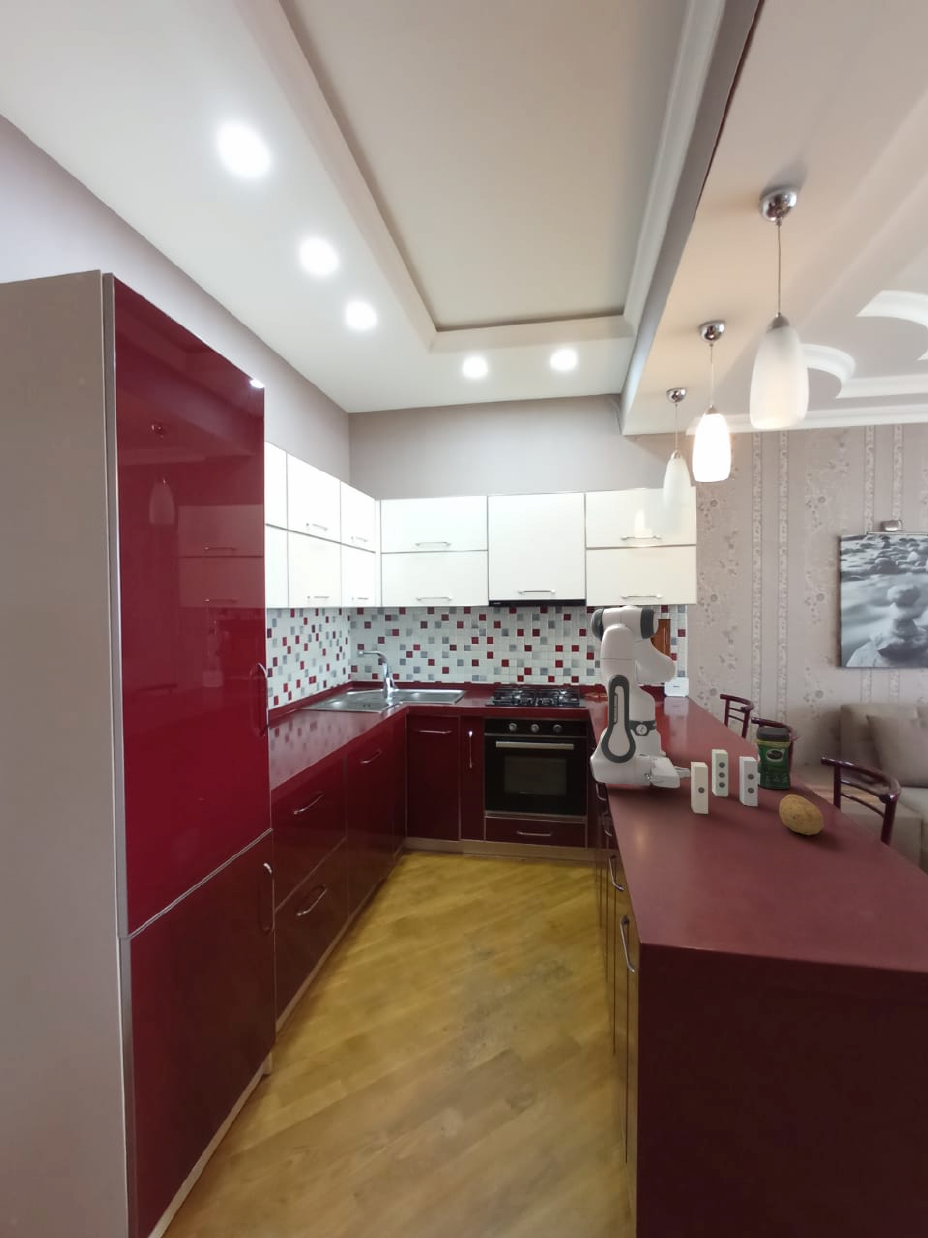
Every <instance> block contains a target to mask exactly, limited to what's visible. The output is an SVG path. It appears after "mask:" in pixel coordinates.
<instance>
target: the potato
mask: <svg viewBox="0 0 928 1238" xmlns="http://www.w3.org/2000/svg"><path fill="white" fill-rule="evenodd" d="M778 809H779V810H778V811H779V817H780V819H781V821H782V823H783V825H785V826H786V827H787V828H789V829H790V830H791V831H793V832H795V833H799V834H801V835H806V836H808V837H809V836H812V835H817V834H818V833H820V832H821V830H823V828H824V825H825V824H824V823H825V819H824V816H823V814H822V811H821V810H820V809H819V808H818V807H817V806H816V805H815V804H813V803H812V802H811V801H810V800H808V799H807V798H805V797H804V796H801V795H797V794H787V795H785V796H784V797H783V798H781V800H780V803H779V808H778Z"/></svg>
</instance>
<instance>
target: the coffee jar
mask: <svg viewBox="0 0 928 1238" xmlns="http://www.w3.org/2000/svg"><path fill="white" fill-rule="evenodd" d="M755 743H756V746H757V786H760V787H762V788H766V789H774V790H788V789H791V787H792V782H791V781H792V779H791V772H790V767H789V765H790V764H789V747H790V746H791V739H790V733H789V731H788V729H786V728H785V727H784V728H783V727H782V728H781V727H770V726H769V727H768V726H767V727H765V726H758V727H757V728H756V734H755Z"/></svg>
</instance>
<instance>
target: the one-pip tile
mask: <svg viewBox="0 0 928 1238" xmlns="http://www.w3.org/2000/svg"><path fill="white" fill-rule="evenodd" d="M690 764H691V766H690V767H691V769H690V772H691V779H690V781H691V782H690V789H691V790H690V791H691V794H690V795H691V798H690V801H691V803H690V807H691V809H692V811H693V813H694V814H705V815H706V814H708V815H709V767H708V765H707V764H706V763H705V762H704V761H703V762H697V761H691V762H690Z"/></svg>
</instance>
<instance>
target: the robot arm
mask: <svg viewBox="0 0 928 1238" xmlns="http://www.w3.org/2000/svg"><path fill="white" fill-rule="evenodd" d="M658 618H659V617H658V615H657V613H656V611H655V610H654V609H653V608H650V607H638V606H636V605H632V604H629V605H624V606H622V607H611V608H605V607H604V608H599V609H597V610H595V611H594V612H593V613H592V615H591V619H590V628H591V632H592V634H593V636H595V638H597V639H599V641H600V642H601V646H600V654H599V655H600V656H599V667H600V675H601V680H602V683H603V685H604V689H605V691H606V695H607V702H608V703H607V727H606V728H605V729H604V730H603V731H602V733H601V735H600V738H599V741H598V744H597V747H596V749H595V751H594V752H593V753H592V755H591V756H590V758H589V764H590V769H591V773H592V774H591V775H592V777H593V778H594V779H595V781H597V782H600V783H605V784H610V785H611V784H612V785H613V784H614V785H622V784H630V785H633V786H646V787H647V786H651V783H652V785H653V786H655V787H659V788H670V789H677V788H680V786H681V785H680V783H681V780H680V779H682V778H690V777H691V769H690V768H688V767H687V768H685V767H679V766H674V765H673V764H672V762H671V760H670V758H669V757H666V756H667V754H666V752H665V750H663V749H662V743H661V742H662V741H661V740H662V739H661V738H662V737H661V733H659V731H657V719H656V701H655V698H654V697H653V695H652V694H650V693H649V692H647V691H645V690H643V689H642V688H641V687H640V685H639V683H645V684H646V683H647V684H663V683H669V682H671V681H672V679H674V677H675V675H676V670H677V669H676V664H675V662H674V660H673V659H672V658H671V657H670V656H668V655H666V654H665V653H662V652H661V651H660V650H658V649H657V648H656V647H655V646H654V645H653V644H652V641H651V639H652V638H654V637H655V635H657V634H656V633H657V631H658V629H659V619H658Z"/></svg>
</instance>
